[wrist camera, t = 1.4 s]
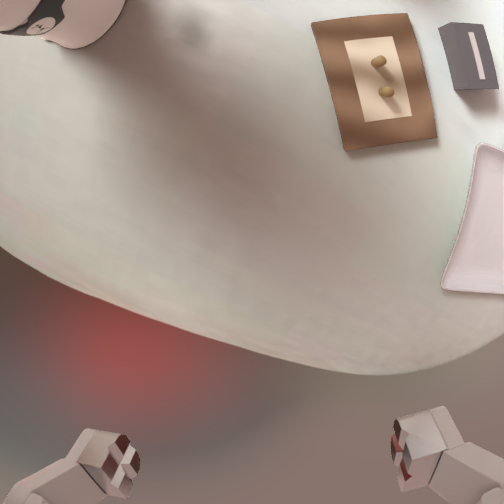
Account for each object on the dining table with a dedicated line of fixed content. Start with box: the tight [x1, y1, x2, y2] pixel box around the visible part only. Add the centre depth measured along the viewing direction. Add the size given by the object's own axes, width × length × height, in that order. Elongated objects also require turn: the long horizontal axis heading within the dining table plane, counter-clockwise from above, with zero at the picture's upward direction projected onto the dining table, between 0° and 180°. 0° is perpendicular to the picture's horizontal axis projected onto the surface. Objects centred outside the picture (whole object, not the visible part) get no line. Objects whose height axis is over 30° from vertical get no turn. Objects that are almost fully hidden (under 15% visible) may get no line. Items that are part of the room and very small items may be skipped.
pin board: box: [311, 13, 437, 151], centre depth 30 cm, size 16×12×4 cm
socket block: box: [438, 22, 499, 90], centre depth 26 cm, size 8×5×4 cm, turn 16°
